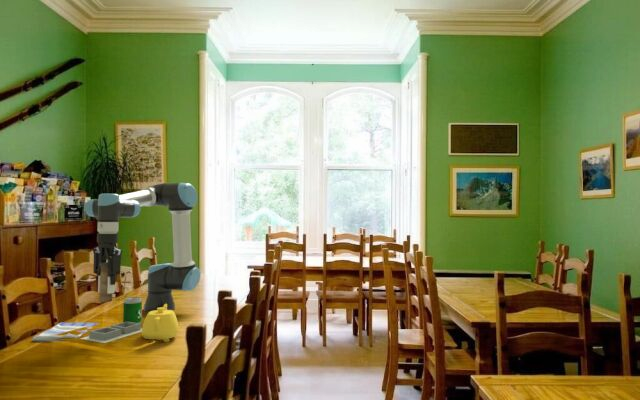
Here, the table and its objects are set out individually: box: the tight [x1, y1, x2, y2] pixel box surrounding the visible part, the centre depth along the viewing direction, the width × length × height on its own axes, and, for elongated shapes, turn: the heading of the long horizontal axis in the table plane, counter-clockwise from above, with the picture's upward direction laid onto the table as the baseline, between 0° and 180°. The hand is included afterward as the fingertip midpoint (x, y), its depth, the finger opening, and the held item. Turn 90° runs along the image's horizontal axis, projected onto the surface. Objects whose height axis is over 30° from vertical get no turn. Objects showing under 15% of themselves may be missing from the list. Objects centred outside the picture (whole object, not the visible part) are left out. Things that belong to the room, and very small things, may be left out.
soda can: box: [122, 296, 143, 324], centre depth 200 cm, size 8×8×12 cm
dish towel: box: [30, 322, 100, 342], centre depth 186 cm, size 17×24×3 cm
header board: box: [79, 321, 142, 344], centre depth 182 cm, size 22×13×4 cm, turn 156°
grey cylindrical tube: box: [99, 261, 113, 303], centre depth 178 cm, size 5×5×15 cm
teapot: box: [141, 304, 179, 344], centre depth 180 cm, size 13×20×12 cm
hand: (106, 292), depth 177 cm, fingers closed on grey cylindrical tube, 4 cm apart
